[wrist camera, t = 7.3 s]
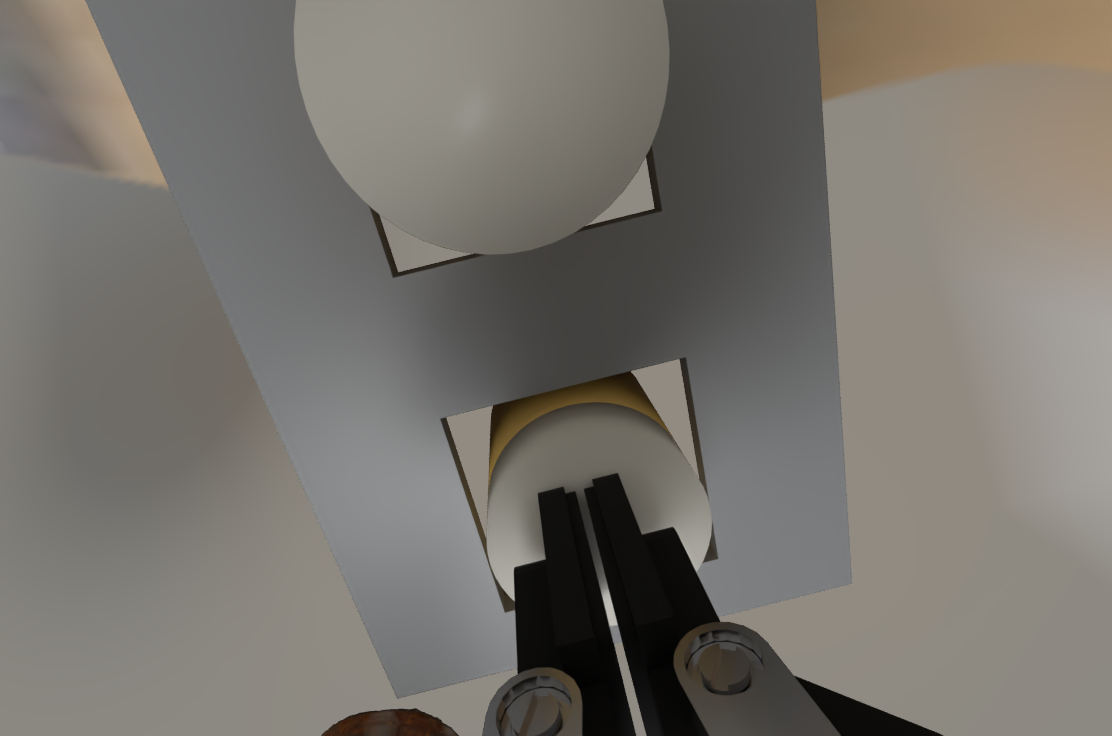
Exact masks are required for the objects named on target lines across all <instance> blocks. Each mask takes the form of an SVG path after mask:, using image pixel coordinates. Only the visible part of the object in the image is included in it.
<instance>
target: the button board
mask: <svg viewBox="0 0 1112 736" xmlns="http://www.w3.org/2000/svg"><path fill="white" fill-rule="evenodd" d="M85 1H86V3H87V5H88V7H89V10H90V12H91V14H92V16H93V19H94V21H95V23H96V25H97V28H98V30H99V32H100V34H101V37H102V39H103V41H104V43H105V46H106V48H107V50H108V52H109V54H110V57H111V59H112V61H113V63H114V66H115V68H116V70H117V72H118V75H119V77H120V79H121V81H122V84H123V86H124V88H125V90H126V93H127V95H128V97H129V99H130V101H131V104H132V106H133V108H134V110H135V113H136V115H137V117H138V119H139V122H140V124H141V126H142V128H143V131H144V133H145V135H146V137H147V140H148V142H149V144H150V146H151V148H152V151H153V153H154V155H155V157H156V160H157V162H158V164H159V166H160V169H161V171H162V173H163V175H164V178H165V180H166V182H167V184H168V187H169V189H170V191H171V193H172V195H173V198H174V200H175V202H176V204H177V207H178V209H179V211H180V213H181V216H182V218H183V220H184V222H185V225H186V227H187V229H188V231H189V233H190V236H191V238H192V240H193V242H194V245H195V247H196V249H197V251H198V253H199V256H200V258H201V260H202V263H203V265H204V267H205V269H206V271H207V274H208V276H209V278H210V280H211V282H212V285H213V287H214V289H215V291H216V294H217V296H218V298H219V301H220V303H221V305H222V307H223V310H224V312H225V314H226V316H227V318H228V321H229V323H230V325H231V327H232V330H233V332H234V334H235V336H236V339H237V341H238V343H239V345H240V347H241V350H242V352H243V354H244V356H245V359H246V361H247V363H248V365H249V368H250V370H251V372H252V374H253V376H254V379H255V381H256V383H257V386H258V388H259V390H260V392H261V395H262V397H263V399H264V401H265V403H266V406H267V408H268V410H269V413H270V415H271V417H272V419H273V421H274V424H275V426H276V428H277V430H278V433H279V435H280V437H281V439H282V442H283V443H284V446H285V448H286V450H287V453H288V455H289V457H290V459H291V462H292V464H293V466H294V468H295V471H296V473H297V475H298V477H299V479H300V482H301V484H302V486H303V488H304V491H305V493H306V495H307V498H308V500H309V502H310V504H311V506H312V509H313V511H314V513H315V515H316V518H317V520H318V522H319V524H320V527H321V529H322V531H323V533H324V536H325V537H326V540H327V542H328V544H329V547H330V549H331V551H332V553H333V556H334V558H335V560H336V562H337V564H338V567H339V569H340V571H341V573H342V576H343V578H344V580H345V583H346V585H347V587H348V589H349V591H350V594H351V596H352V598H353V600H354V603H355V605H356V607H357V609H358V612H359V614H360V616H361V618H362V621H363V623H364V625H365V627H366V630H367V632H368V634H369V636H370V638H371V641H372V643H373V645H374V647H375V649H376V652H377V654H378V656H379V659H380V661H381V663H382V665H383V668H384V670H385V672H386V674H387V677H388V679H389V681H390V683H391V685H392V688H393V690H394V692H395V694H396V696H397V698H401V697H405V696H409V695H413V694H417V693H421V692H425V691H429V690H433V689H437V688H441V687H445V686H449V685H452V684H456V683H461V682H465V681H468V680H472V679H476V678H480V677H484V676H488V675H492V674H496V673H500V672H504V671H508V670H512V669H516V668H517V646H516V621H515V601H514V600H513V599H511V598H510V597H509V595H508V594H507V593H506V592H505V591H504V589H503V588H502V587H501V585H500V584H499V582H498V580H497V579H496V577H495V575H494V573H493V570H492V568H491V565H490V561H489V557H488V553H487V541H486V538H485V535H484V531H483V528H482V525H481V523H480V519H479V516H478V513H477V510H476V507H475V504H474V501H473V498H472V495H471V492H470V489H469V486H468V483H467V480H466V477H465V474H464V471H463V468H462V465H461V462H460V459H459V456H458V453H457V450H456V446H455V443H454V440H453V438H452V435H451V431H450V428H449V425H448V422H447V419H446V417H448V416H452V415H456V414H460V413H464V412H468V411H472V410H476V409H480V408H484V407H488V406H492V405H496V404H500V403H504V402H508V401H512V400H516V399H520V398H524V397H528V396H532V395H536V394H540V393H544V392H548V391H552V390H556V389H560V388H564V387H568V386H572V385H576V384H580V383H584V382H588V381H592V380H596V379H600V378H604V377H608V376H612V375H616V374H620V373H624V372H628V371H632V370H636V369H640V368H644V367H648V366H652V365H656V364H660V363H664V362H668V361H672V360H676V359H680V363H681V370H682V376H683V382H684V388H685V394H686V400H687V406H688V412H689V418H690V424H691V431H692V436H693V443H694V448H695V455H696V460H697V467H698V473H699V479H700V482H701V484H702V485H703V487H704V490H705V492H706V494H707V497H708V500H709V504H710V508H711V517H712V529H711V538H710V542H709V547H708V550H707V552H706V555H705V558H704V560H703V562H702V564H701V566H700V568H699V569H698V571H697V575H698V577H699V579H700V581H701V583H702V585H703V587H704V589H705V591H706V593H707V595H708V597H709V599H710V601H711V603H712V605H713V607H714V610H715V612H716V614H717V616H718V617H721V616H726V615H730V614H734V613H737V612H741V611H745V610H749V609H753V608H757V607H761V606H765V605H769V604H773V603H777V602H781V601H785V600H789V599H793V598H797V597H800V596H805V595H809V594H813V593H817V592H821V591H825V590H828V589H833V588H837V587H840V586H844V585H848V584H852V572H851V556H850V542H849V541H850V540H849V525H848V510H847V493H846V478H845V462H844V445H843V429H842V413H841V397H840V382H839V366H838V351H837V334H836V320H835V319H836V318H835V303H834V287H833V271H832V255H831V239H830V223H829V207H828V191H827V176H826V160H825V145H824V144H825V143H824V128H823V112H822V96H821V80H820V64H819V48H818V32H817V16H816V0H663V5H664V10H665V15H666V20H667V26H668V38H669V50H670V52H669V79H668V85H667V92H666V99H665V104H664V108H663V112H662V116H661V119H660V123H659V127H658V129H657V132H656V134H655V137H654V139H653V142H652V144H651V147H650V149H649V151H648V153H647V155H646V159H647V165H648V171H649V177H650V183H651V189H652V195H653V201H654V207H655V209H652V210H648V211H644V212H640V213H636V214H632V215H628V216H624V217H620V218H616V219H612V220H608V221H604V222H600V223H596V224H592V225H588V226H584V227H582V228H581V229H579V230H578V231H576V232H574V233H573V234H571V235H569V236H567V237H565V238H562V239H560V240H558V241H556V242H554V243H551V244H548V245H545V246H542V247H539V248H536V249H533V250H528V251H522V252H517V253H511V254H491V255H487V254H471V255H467V256H463V257H459V258H455V259H451V260H447V261H442V262H439V263H434V264H430V265H426V266H422V267H418V268H414V269H410V270H406V271H403V272H398V271H397V267H396V264H395V261H394V258H393V256H392V252H391V249H390V247H389V243H388V240H387V237H386V234H385V231H384V228H383V225H382V222H381V219H380V216H379V214H378V213H377V212H376V211H375V210H374V209H373V208H371V207H370V206H369V205H368V204H367V203H366V202H364V201H363V200H362V199H361V198H360V197H359V195H358V194H357V193H356V192H355V191H354V190H353V189H352V188H351V187H350V186H349V185H348V184H347V182H346V181H345V180H344V179H343V177H342V176H341V174H340V173H339V172H338V170H337V169H336V167H335V166H334V165H333V163H332V162H331V161H330V159H329V157H328V155H327V153H326V152H325V150H324V148H323V146H322V145H321V143H320V141H319V139H318V137H317V135H316V133H315V130H314V128H313V126H312V123H311V121H310V118H309V116H308V114H307V111H306V107H305V104H304V100H303V97H302V93H301V90H300V86H299V81H298V74H297V68H296V62H295V51H294V19H295V6H296V0H85ZM610 630H611V634H612V638H613V642H614V644H615V643H619V642H622V639H621V636H620V632H619V628H618V625H614V626H610Z"/></svg>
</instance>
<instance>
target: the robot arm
mask: <svg viewBox="0 0 1112 736" xmlns="http://www.w3.org/2000/svg"><path fill="white" fill-rule="evenodd" d="M592 482H593V487H589V488H585V489H584V493H585V497H586V501H587V505H588V509H589V513H590V517H591V521H592V525H593V529H594V533H595V537H596V541H597V545H598V549H599V553H600V557H601V561H602V565H603V569H604V573H605V577H606V581H607V585H608V589H609V593H610V597H611V601H612V605H613V609H614V613H615V616H616V620H617V624H618V628H619V632H620V636H621V639H622V643H623V647H624V651H625V655H626V658H627V662H628V666H629V670H630V673H631V678H632V681H633V685H634V689H635V693H636V697H637V700H638V704H639V708H640V712H641V716H642V720H643V723H644V727H645V731H646V735H647V736H943V735H941V734H939V733H937V732H934V731H932V730H929V729H927V728H924V727H922V726H919V725H917V724H914V723H912V722H909V721H907V720H904V719H901V718H899V717H896V716H894V715H891V714H889V713H886V712H884V711H881V710H879V709H876V708H873V707H871V706H869V705H866V704H864V703H861V702H859V701H856V700H854V699H851V698H849V697H846V696H844V695H841V694H839V693H836V692H834V691H831V690H829V689H826V688H824V687H821V686H819V685H816V684H813V683H811V682H809V681H806V680H803V679H801V678H799V677H796V676H794V675H793V674H792V673H791V672H790V670H789V669H788V668H787V666H786V665H785V664H784V663H783V662H782V660H781V659H780V658H779V656H778V655H777V654H776V653H775V651H774V650H773V649H772V647H770V645H769V644H768V642H766V641H765V640H764V639H763V638H762V637H761V636H760V635H759V634H758V633H757V632H755V631H753V630H751V629H749V628H747V627H745V626H743V625H739V624H735V623H731V622H720V620H719V618H718V616H717V614H716V612H715V610H714V607H713V605H712V603H711V601H710V599H709V597H708V595H707V593H706V591H705V589H704V587H703V585H702V583H701V581H700V579H699V577H698V575H697V573H696V570H695V568H694V566H693V564H692V562H691V560H690V558H689V556H688V554H687V552H686V550H685V548H684V546H683V544H682V542H681V540H680V538H679V535H678V533H677V532H676V530H675V528H674V527H669V528H666V529H662V530H658V531H654V532H650V533H646V534H642V533H641V531H640V528H639V526H638V523H637V521H636V518H635V515H634V513H633V510H632V508H631V505H630V503H629V500H628V497H627V495H626V492H625V490H624V487H623V485H622V482H621V479H620V477H619V474H618V473H615V474H611V475H607V476H603V477H599V478H595V479H592ZM538 502H539V510H540V518H541V526H542V534H543V542H544V550H545V559H544V560H541V561H537V562H533V563H529V564H525V565H521V566H517V567H515V568H514V597H515V621H516V646H517V670H518V675H516V676H514V677H512V678H510V679H509V680H508V681H507V682H506V683H505V684H504V685H503V686H502V687H500V689H498V691H497V692H496V694H495V695H494V697H493V698H492V700H491V702H490V705H489V707H488V711H487V713H486V717H485V723H484V728H483V734H482V736H636V733H635V729H634V725H633V721H632V717H631V712H630V708H629V704H628V701H627V696H626V692H625V688H624V684H623V679H622V676H621V671H620V667H619V663H618V659H617V655H616V651H615V647H614V642H613V638H612V634H611V630H610V626H609V622H608V618H607V614H606V609H605V605H604V601H603V597H602V593H601V590H600V586H599V582H598V578H597V574H596V570H595V566H594V562H593V558H592V554H591V550H590V546H589V542H588V539H587V535H586V531H585V527H584V523H583V519H582V515H581V511H580V507H579V503H578V499H577V495H576V492H575V491H573V492H569V493H565V490H564V487H560V488H556V489H552V490H548V491H544V492H540V493H538Z"/></svg>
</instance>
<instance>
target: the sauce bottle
mask: <svg viewBox="0 0 1112 736" xmlns="http://www.w3.org/2000/svg"><path fill="white" fill-rule="evenodd" d="M322 736H459V735H458V734H457V733H456V732H455V731H454V730H453V729H452V728H451V727H449V726H447V725H446V724H444V723H442V721H441V720H440V719H439V718H437V717H433V716H432V715H429V714H426V713H425V712H421V711H420V710H418V709H416V708H415V709H410V710H409V709H390V710H381V711H369V712H363V713H358V714H356V715H351V716H349V717H347V718H345V719H343V720H341V721H339V722H338V723H336V724H334V725H332V727H330V728H329V729H328V730H327V731H325V732H324V733H323V734H322Z"/></svg>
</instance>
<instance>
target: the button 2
mask: <svg viewBox="0 0 1112 736" xmlns="http://www.w3.org/2000/svg"><path fill="white" fill-rule="evenodd" d="M615 473H618V474H619V477H620V479H621V482H622V485H623V487H624V490H625V492H626V495H627V497H628V500H629V503H630V505H631V508H632V510H633V513H634V515H635V518H636V521H637V523H638V526H639V528H640V531H641V533H642V534H646V533H650V532H654V531H658V530H662V529H666V528H669V527H674V528H675V530H676V532H677V533H678V535H679V538H680V540H681V542H682V544H683V546H684V548H685V550H686V552H687V554H688V556H689V558H690V560H691V562H692V564H693V566H694V568H695V570H696V573H697V571H698V569H699V568H700V566H701V564H702V562H703V560H704V558H705V555H706V552H707V550H708V547H709V542H710V538H711V529H712V517H711V508H710V504H709V500H708V497H707V494H706V492H705V490H704V487H703V485H702V484H701V482H700V480H699V479H698V477H697V476H696V474H695V472H694V471H693V469H692V468H691V466H690V464H689V463H688V461H687V460H686V458H685V456H684V455H683V453H682V451H681V450H680V448H679V447H678V445H677V443H676V442H675V440H674V439H673V437H672V435H671V434H670V432H669V431H668V429H667V427H666V426H665V424H664V423H663V421H662V420H661V418H660V416H659V414H658V413H657V411H656V410H655V408H654V406H653V405H652V403H651V402H650V400H649V398H648V397H647V395H646V394H645V392H644V390H643V389H642V387H641V386H640V384H639V382H638V381H637V379H636V377H635V376H634V375H633V374H632V373H631V371H628V372H624V373H620V374H616V375H612V376H608V377H604V378H600V379H596V380H592V381H588V382H584V383H580V384H576V385H572V386H568V387H564V388H560V389H556V390H552V391H548V392H544V393H540V394H536V395H532V396H528V397H524V398H520V399H516V400H512V401H508V402H504V403H500V404H496V405H493V409H492V413H491V430H490V458H489V485H488V486H489V487H488V513H487V540H486V541H487V553H488V557H489V561H490V565H491V568H492V570H493V573H494V575H495V577H496V579H497V580H498V582H499V584H500V585H501V587H502V588H503V589H504V591H505V592H506V593H507V594H508V595H509V597H510V598H511V599H513V600H514V601H515V597H514V568H515V567H517V566H521V565H525V564H529V563H533V562H537V561H541V560H544V559H545V550H544V542H543V534H542V526H541V518H540V510H539V502H538V493H540V492H544V491H548V490H552V489H556V488H560V487H564V490H565V493H569V492H573V491H575V492H576V495H577V499H578V503H579V507H580V511H581V515H582V519H583V523H584V527H585V531H586V535H587V539H588V542H589V546H590V550H591V554H592V558H593V562H594V566H595V570H596V574H597V578H598V582H599V586H600V590H601V593H602V597H603V601H604V605H605V609H606V614H607V618H608V622H609V626H614V625H618V624H617V620H616V616H615V613H614V609H613V605H612V601H611V597H610V593H609V589H608V585H607V581H606V577H605V573H604V569H603V565H602V561H601V557H600V553H599V549H598V545H597V541H596V537H595V533H594V529H593V525H592V521H591V517H590V513H589V509H588V505H587V501H586V497H585V493H584V489H585V488H589V487H593V482H592V479H595V478H599V477H603V476H607V475H611V474H615Z"/></svg>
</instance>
